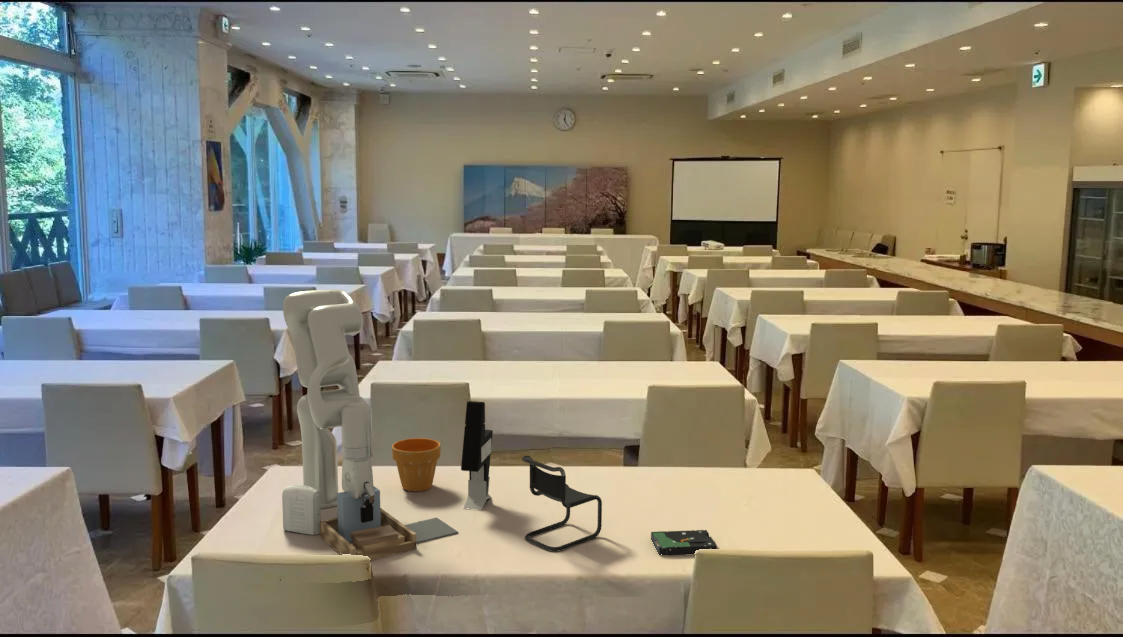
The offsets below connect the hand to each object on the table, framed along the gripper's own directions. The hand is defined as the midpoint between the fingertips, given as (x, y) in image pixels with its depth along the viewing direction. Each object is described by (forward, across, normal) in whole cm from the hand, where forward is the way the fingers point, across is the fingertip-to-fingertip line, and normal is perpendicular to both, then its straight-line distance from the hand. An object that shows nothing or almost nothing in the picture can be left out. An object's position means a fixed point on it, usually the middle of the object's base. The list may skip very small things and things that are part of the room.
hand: (359, 515), depth 239 cm
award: (+6, -4, +37) cm, 38 cm away
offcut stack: (+6, +10, 0) cm, 12 cm away
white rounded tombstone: (+6, -12, -11) cm, 17 cm away
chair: (+6, +29, +43) cm, 52 cm away
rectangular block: (+6, 0, 0) cm, 6 cm away
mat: (+6, +6, +16) cm, 18 cm away
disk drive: (+7, +51, +65) cm, 83 cm away
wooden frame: (+6, +5, 0) cm, 7 cm away
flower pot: (+6, -26, +29) cm, 39 cm away
